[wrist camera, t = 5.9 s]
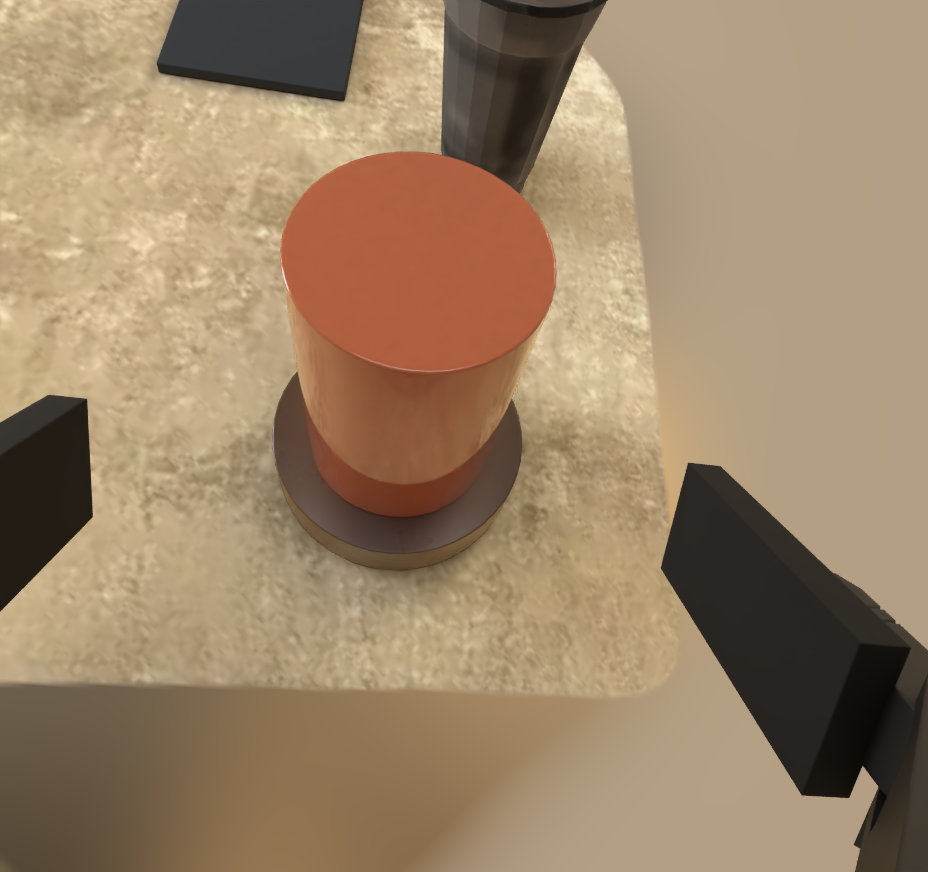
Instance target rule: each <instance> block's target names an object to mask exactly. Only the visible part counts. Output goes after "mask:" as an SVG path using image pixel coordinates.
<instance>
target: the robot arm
mask: <svg viewBox="0 0 928 872" xmlns="http://www.w3.org/2000/svg"><path fill="white" fill-rule="evenodd" d="M92 517H93V511H92V490H91V470H90V449H89V429H88V408H87V399H83V398H74V397H64V396H55V395H47V396H46V397H44V398H42V399H41V400H39V401H37V402H35V403H34V404H32V405H30V406H28V407H27V408H25V409H23V410H21V411H20V412H18V413H16V414H14V415H13V416H11V417H9V418H7V419H6V420H4V421H2V422H0V611H1V610H2V609H3V608H4V607H5V606H6V605H7V604H8V603H9V602H10V601H11V600H12V599H13V598H14V597H15V596H16V595H17V594H18V593H19V592H20V591H21V590H22V589H23V588H24V587H25V586H26V585H27V584H28V583H29V582H30V581H31V580H32V579H33V578H34V577H35V576H36V575H37V574H38V573H39V572H40V571H41V569H42V568H43V567H44V566H45V565H46V564H47V563H48V562H49V561H50V560H51V559H52V558H53V557H54V556H55V555H56V554H57V553H58V552H59V551H60V550H61V549H62V548H63V547H64V546H65V545H66V544H67V543H68V542H69V541H70V540H71V539H72V538H73V537H74V536H75V535H76V534H77V533H78V532H79V531H80V530H81V529H82V528H83V527H84V526H85V524H86V523H87V522H88V521H89V520H90V519H91V518H92ZM661 569H662V571H663V573H664V574H665V576H666V577H667V579H668V581H669V582H670V584H671V586H672V587H673V589H674V590H675V592H676V594H677V595H678V597H679V598H680V600H681V602H682V603H683V605H684V606H685V608H686V610H687V611H688V613H689V614H690V616H691V618H692V619H693V621H694V623H695V624H696V626H697V627H698V629H699V630H700V632H701V634H702V635H703V637H704V638H705V640H706V642H707V643H708V645H709V647H710V648H711V650H712V652H713V653H714V655H715V656H716V658H717V659H718V661H719V663H720V664H721V666H722V668H723V669H724V671H725V672H726V674H727V675H728V677H729V679H730V680H731V682H732V684H733V685H734V687H735V688H736V690H737V691H738V693H739V695H740V697H741V698H742V700H743V701H744V703H745V705H746V706H747V708H748V709H749V711H750V713H751V714H752V716H753V717H754V719H755V721H756V722H757V724H758V725H759V727H760V729H761V730H762V732H763V733H764V735H765V737H766V738H767V740H768V742H769V743H770V745H771V746H772V748H773V750H774V751H775V753H776V754H777V756H778V758H779V759H780V761H781V763H782V764H783V766H784V767H785V769H786V771H787V772H788V774H789V775H790V777H791V779H792V780H793V782H794V783H795V785H796V787H797V788H798V790H799V791H800V793H801V795H806V796H823V797H840V798H849V797H850V795H851V792H852V790H853V787H854V785H855V782H856V780H857V778H858V775H859V773H860V770H861V768H862V766H863V767H864V768H865V769H866V771H867V772H868V773H869V775H870V776H871V777H872V779H873V780H874V781H875V782H876V784H877V785H878V786H879V787H878V790H877V792H876V794H875V797H874V799H873V801H872V803H871V806H870V808H869V810H868V813H867V815H866V818H865V820H864V822H863V824H862V827H861V829H860V832H859V834H858V836H857V838H856V841H855V843H854V845H855V846H857V847H858V848H860V853H859V857H858V861H857V866H856V870H855V872H928V650H927V649H926V648H925V647H924V646H922V645H921V644H920V643H919V642H918V641H917V640H916V639H915V638H914V637H913V636H912V635H911V634H909V633H908V632H907V631H906V630H905V629H904V628H903V627H902V626H901V625H900V624H896V623H895V620H894V619H893V618H892V617H891V616H890V615H889V614H888V613H886V611H885V610H880V606H879V605H878V604H877V603H876V602H875V601H873V599H871V597H869V596H868V595H867V594H866V593H865V592H864V591H863V590H862V589H860V588H859V587H857V586H855V585H854V584H852V583H850V582H848V581H847V580H845V579H844V578H842V577H840V576H839V575H837V574H835V573H832V572H831V571H830V570H829V569H828V568H827V567H826V566H825V565H824V564H823V563H822V562H821V561H820V560H818V559H817V558H816V557H815V556H814V555H813V554H812V553H811V552H810V551H809V550H808V549H807V548H806V547H805V546H804V545H803V544H802V543H801V542H799V541H798V540H797V539H796V538H795V537H794V536H793V535H792V534H791V533H790V532H789V531H788V530H787V529H786V528H785V527H784V526H783V525H781V523H780V522H778V521H777V520H776V519H775V518H774V517H773V516H772V515H771V514H770V513H769V512H768V511H767V510H766V509H765V508H764V507H763V506H762V505H761V504H759V503H758V502H757V501H756V500H755V499H754V498H753V497H752V496H751V495H750V494H749V493H748V492H747V491H746V490H745V489H744V488H743V487H741V485H739V484H738V483H737V482H736V481H735V480H734V479H733V478H732V477H731V476H730V475H729V474H728V473H727V472H726V471H725V470H723V468H722V467H721V466H714V465H704V464H694V463H688V466H687V469H686V473H685V477H684V481H683V485H682V488H681V492H680V496H679V500H678V504H677V507H676V511H675V515H674V519H673V523H672V527H671V530H670V534H669V538H668V542H667V546H666V550H665V554H664V557H663V561H662V565H661Z"/></svg>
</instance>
